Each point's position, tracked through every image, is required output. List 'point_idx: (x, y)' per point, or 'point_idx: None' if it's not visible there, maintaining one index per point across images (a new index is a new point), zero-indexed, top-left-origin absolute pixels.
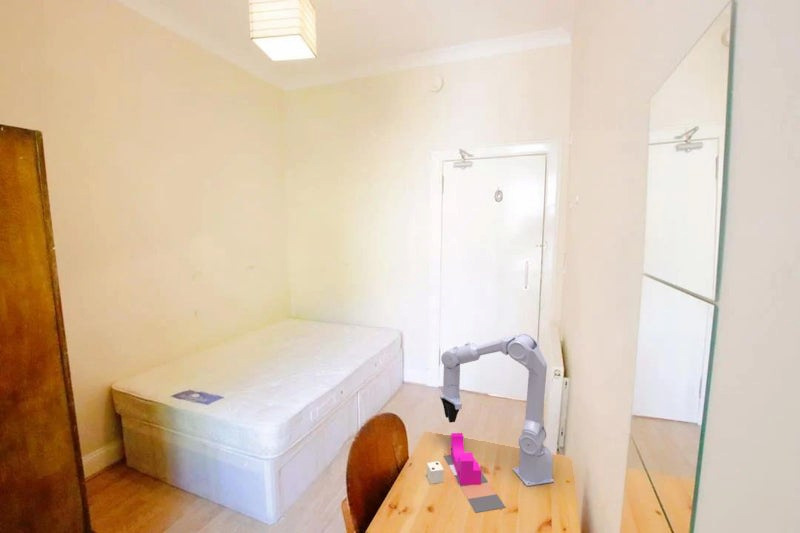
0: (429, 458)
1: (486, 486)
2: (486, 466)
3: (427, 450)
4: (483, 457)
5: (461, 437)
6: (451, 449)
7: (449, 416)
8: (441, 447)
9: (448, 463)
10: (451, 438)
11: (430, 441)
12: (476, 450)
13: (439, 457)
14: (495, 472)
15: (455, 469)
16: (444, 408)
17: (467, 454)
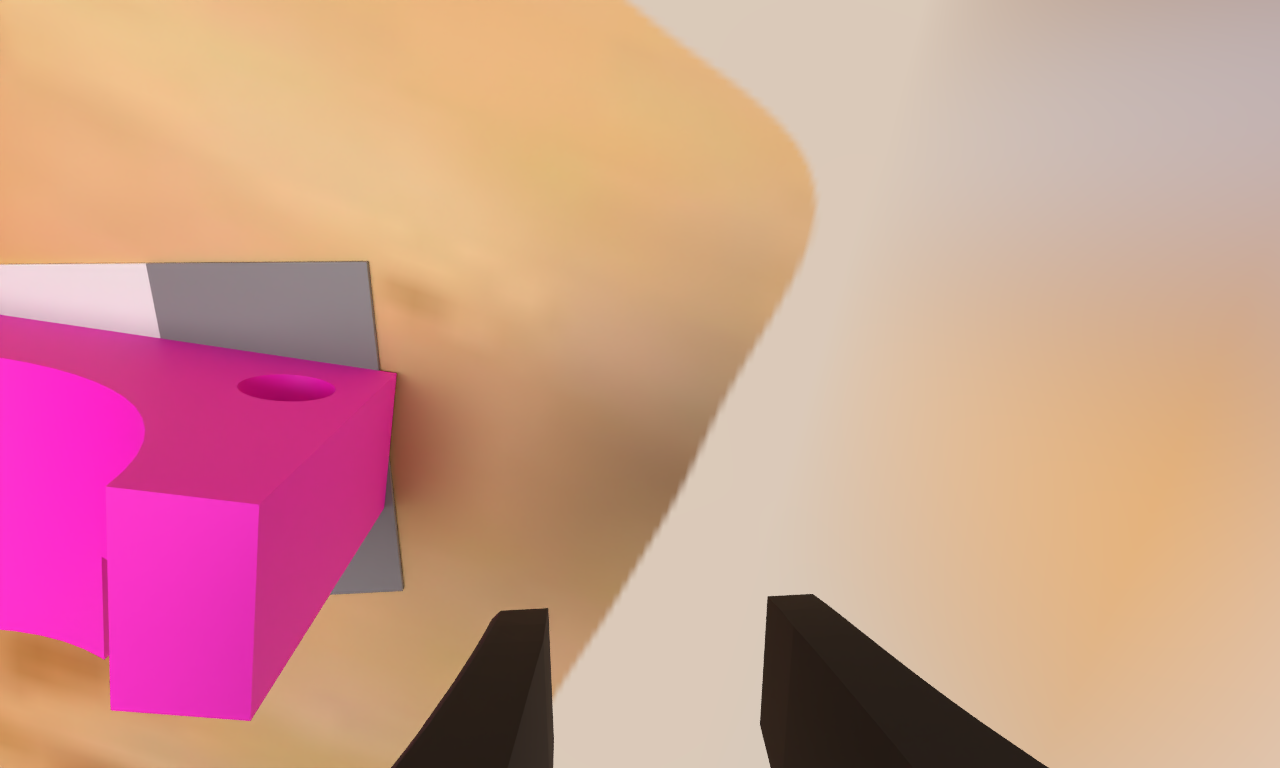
0: (333, 30)
1: None
2: None
3: (533, 67)
4: (301, 720)
5: (117, 657)
6: (336, 395)
7: (411, 750)
8: (571, 302)
9: (188, 273)
10: (267, 458)
11: (740, 191)
12: (443, 693)
13: (345, 194)
14: (15, 747)
15: (45, 322)
16: (933, 763)
17: (79, 575)
